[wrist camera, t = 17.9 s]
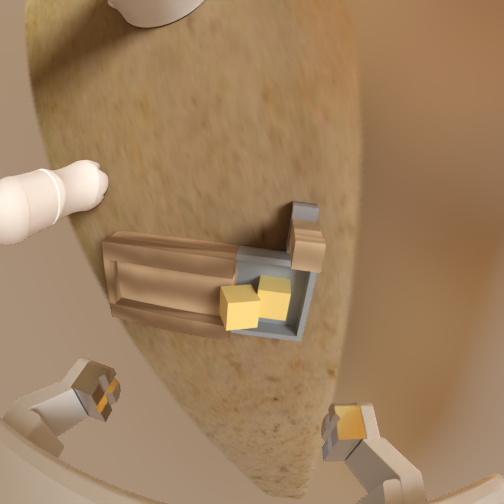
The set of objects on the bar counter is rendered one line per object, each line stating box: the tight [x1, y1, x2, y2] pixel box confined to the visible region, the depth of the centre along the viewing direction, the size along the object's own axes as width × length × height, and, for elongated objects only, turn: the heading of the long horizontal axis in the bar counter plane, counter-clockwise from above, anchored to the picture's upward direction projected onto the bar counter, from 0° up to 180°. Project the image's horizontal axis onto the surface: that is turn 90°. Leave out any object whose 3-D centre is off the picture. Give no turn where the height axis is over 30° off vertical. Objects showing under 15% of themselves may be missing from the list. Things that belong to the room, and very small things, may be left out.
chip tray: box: [231, 245, 317, 341], centre depth 37 cm, size 12×10×3 cm
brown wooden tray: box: [102, 230, 240, 341], centre depth 37 cm, size 12×18×5 cm, turn 84°
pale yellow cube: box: [257, 275, 291, 321], centre depth 36 cm, size 4×4×4 cm
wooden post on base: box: [286, 201, 326, 273], centre depth 30 cm, size 6×3×10 cm, turn 174°
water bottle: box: [0, 160, 109, 245], centre depth 24 cm, size 7×7×25 cm
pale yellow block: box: [219, 284, 261, 331], centre depth 35 cm, size 4×4×4 cm
